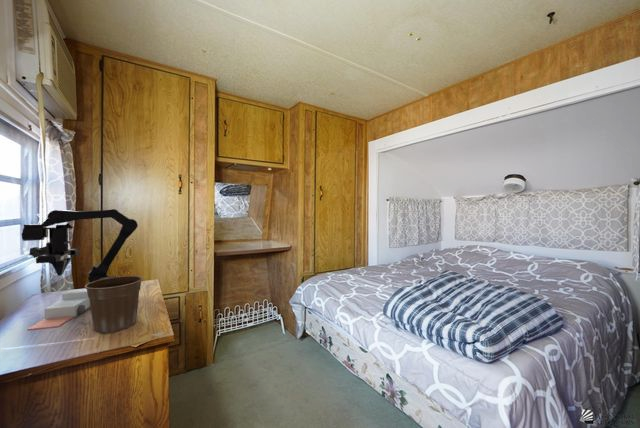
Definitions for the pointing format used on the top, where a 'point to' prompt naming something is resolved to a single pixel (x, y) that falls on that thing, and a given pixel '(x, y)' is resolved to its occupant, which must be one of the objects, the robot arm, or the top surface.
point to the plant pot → (114, 302)
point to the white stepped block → (69, 304)
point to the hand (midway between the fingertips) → (59, 275)
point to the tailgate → (50, 323)
